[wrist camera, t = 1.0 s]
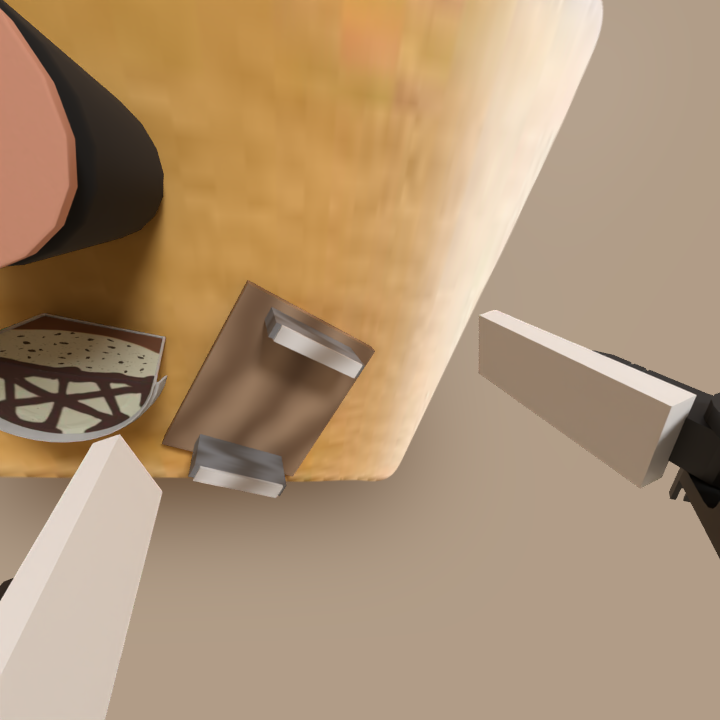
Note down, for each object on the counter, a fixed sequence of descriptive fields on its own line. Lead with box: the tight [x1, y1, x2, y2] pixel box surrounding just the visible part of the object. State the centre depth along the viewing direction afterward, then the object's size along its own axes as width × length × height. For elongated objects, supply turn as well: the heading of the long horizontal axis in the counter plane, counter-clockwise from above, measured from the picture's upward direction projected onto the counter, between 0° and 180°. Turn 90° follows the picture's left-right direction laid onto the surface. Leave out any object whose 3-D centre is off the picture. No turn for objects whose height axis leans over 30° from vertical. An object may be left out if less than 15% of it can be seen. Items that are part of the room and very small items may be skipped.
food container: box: [0, 313, 167, 442], centre depth 27 cm, size 12×6×10 cm, turn 69°
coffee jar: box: [0, 0, 164, 269], centre depth 17 cm, size 11×11×18 cm
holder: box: [162, 281, 375, 498], centre depth 35 cm, size 16×20×7 cm
